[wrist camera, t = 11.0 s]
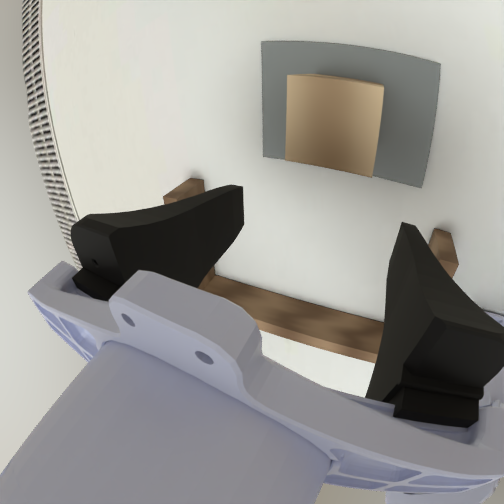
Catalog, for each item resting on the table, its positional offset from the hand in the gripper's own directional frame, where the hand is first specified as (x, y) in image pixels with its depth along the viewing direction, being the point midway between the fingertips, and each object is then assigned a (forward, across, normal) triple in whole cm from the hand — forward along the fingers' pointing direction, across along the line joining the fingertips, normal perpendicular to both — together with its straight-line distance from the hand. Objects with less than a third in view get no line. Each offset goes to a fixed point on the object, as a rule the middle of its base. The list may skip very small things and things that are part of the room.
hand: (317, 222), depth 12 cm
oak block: (+9, 0, -4) cm, 10 cm away
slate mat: (+9, 0, -4) cm, 10 cm away
